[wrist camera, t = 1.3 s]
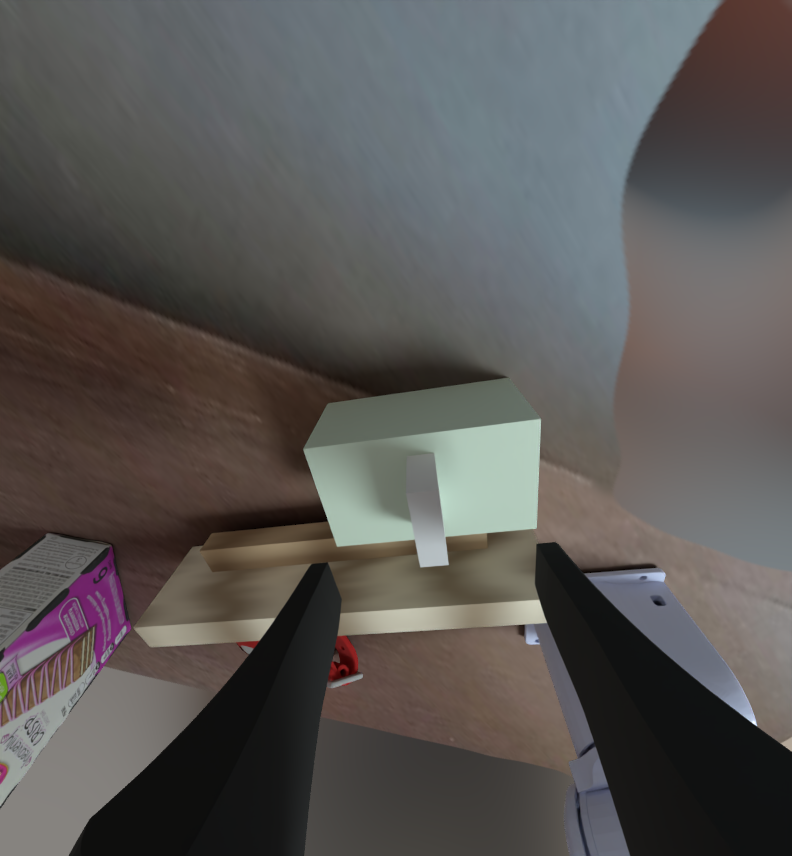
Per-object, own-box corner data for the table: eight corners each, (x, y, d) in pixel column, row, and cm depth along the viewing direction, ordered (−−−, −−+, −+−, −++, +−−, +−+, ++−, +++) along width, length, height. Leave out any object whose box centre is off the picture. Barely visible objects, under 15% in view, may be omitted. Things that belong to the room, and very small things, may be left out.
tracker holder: (227, 655, 30) (193, 616, 23) (257, 606, 33) (234, 558, 26) (353, 709, 28) (354, 683, 21) (371, 651, 31) (377, 612, 25)
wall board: (526, 490, 21) (565, 571, 16) (525, 536, 23) (560, 622, 18) (180, 526, 24) (113, 606, 18) (204, 565, 25) (150, 647, 20)
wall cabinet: (508, 377, 18) (566, 452, 11) (509, 468, 20) (556, 572, 14) (328, 402, 19) (283, 484, 12) (352, 486, 22) (326, 590, 15)
